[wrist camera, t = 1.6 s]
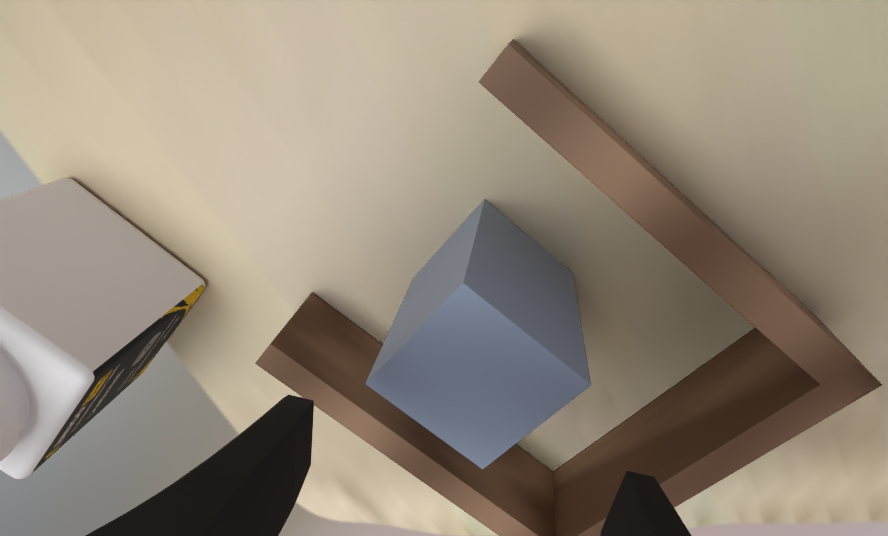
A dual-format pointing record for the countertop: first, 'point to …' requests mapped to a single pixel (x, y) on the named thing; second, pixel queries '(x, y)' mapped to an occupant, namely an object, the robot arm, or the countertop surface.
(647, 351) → the countertop surface
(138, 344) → the medicine bottle
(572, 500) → the walnut bay
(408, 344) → the blue block
